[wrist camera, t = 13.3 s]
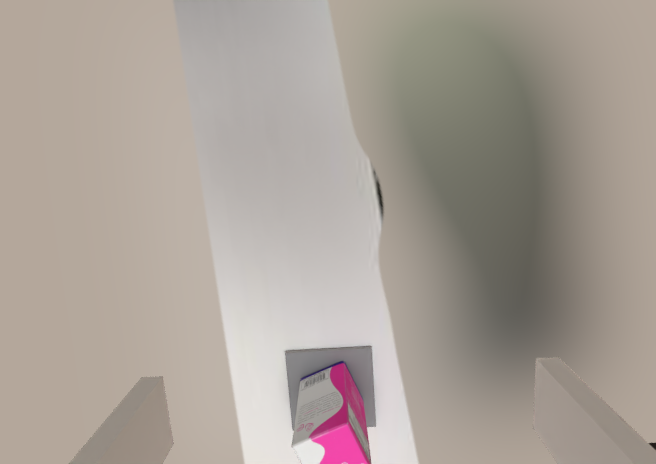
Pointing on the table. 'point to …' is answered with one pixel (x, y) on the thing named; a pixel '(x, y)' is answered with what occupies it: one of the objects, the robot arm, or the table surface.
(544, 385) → the robot arm
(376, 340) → the table surface
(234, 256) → the table surface
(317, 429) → the supplement box
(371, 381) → the slate coaster
